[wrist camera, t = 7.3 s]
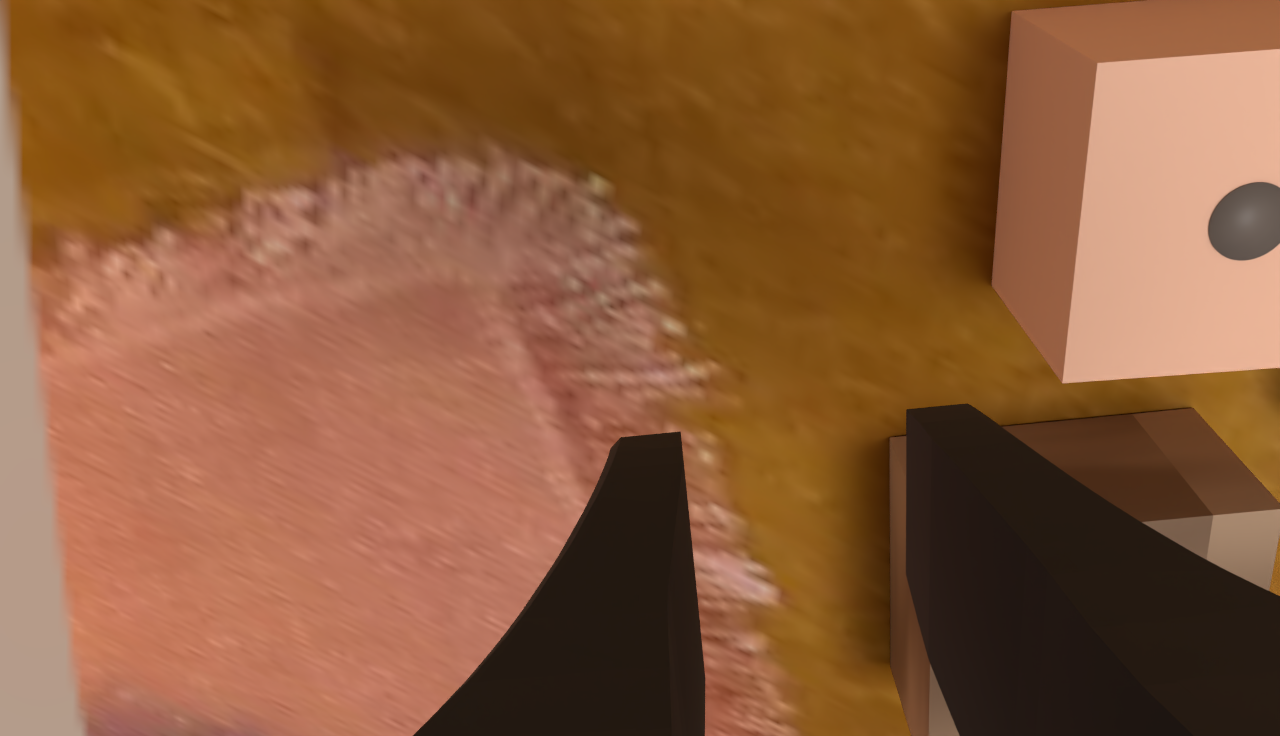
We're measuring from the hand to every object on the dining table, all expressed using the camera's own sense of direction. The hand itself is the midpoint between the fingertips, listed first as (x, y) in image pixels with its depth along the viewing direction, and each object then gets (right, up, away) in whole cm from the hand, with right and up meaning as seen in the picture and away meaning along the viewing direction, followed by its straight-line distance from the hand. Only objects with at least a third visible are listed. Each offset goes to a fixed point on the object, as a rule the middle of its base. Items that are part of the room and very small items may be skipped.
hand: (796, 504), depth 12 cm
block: (+7, +5, +9) cm, 13 cm away
